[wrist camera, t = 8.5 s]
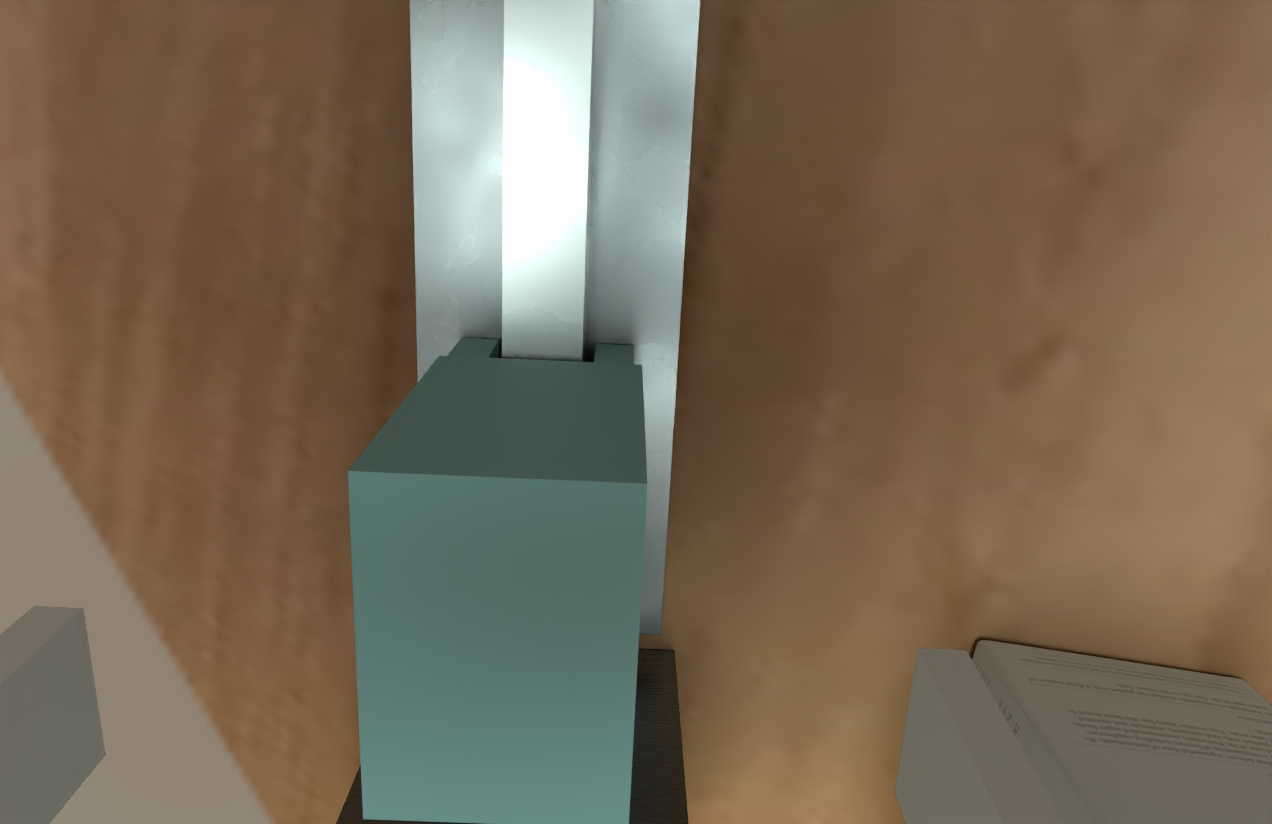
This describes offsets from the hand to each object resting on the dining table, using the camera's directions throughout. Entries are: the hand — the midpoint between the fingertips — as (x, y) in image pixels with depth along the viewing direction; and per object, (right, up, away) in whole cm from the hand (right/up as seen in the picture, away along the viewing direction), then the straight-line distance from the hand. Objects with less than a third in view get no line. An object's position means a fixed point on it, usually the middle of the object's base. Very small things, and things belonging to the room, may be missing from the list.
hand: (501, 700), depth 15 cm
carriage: (0, +3, +12) cm, 13 cm away
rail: (0, +8, +11) cm, 13 cm away
